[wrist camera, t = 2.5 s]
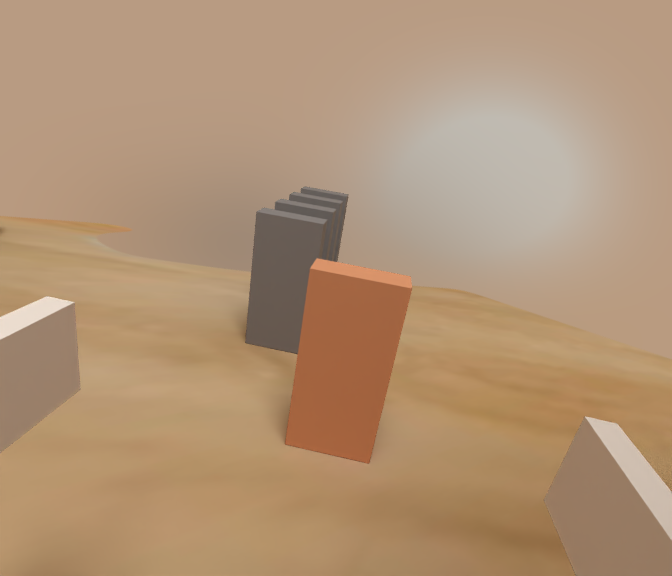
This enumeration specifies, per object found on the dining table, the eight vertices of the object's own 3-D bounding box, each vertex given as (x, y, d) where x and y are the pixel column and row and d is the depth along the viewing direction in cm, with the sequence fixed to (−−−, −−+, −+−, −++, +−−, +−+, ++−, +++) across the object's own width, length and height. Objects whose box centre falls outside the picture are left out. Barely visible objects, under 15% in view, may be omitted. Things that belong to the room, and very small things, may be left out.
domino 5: (370, 441, 25) (410, 276, 21) (368, 463, 23) (412, 288, 19) (292, 423, 25) (316, 258, 21) (285, 444, 23) (310, 268, 19)
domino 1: (318, 320, 39) (336, 209, 35) (315, 328, 37) (333, 212, 33) (269, 310, 40) (281, 198, 36) (263, 317, 38) (275, 201, 34)
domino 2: (308, 344, 34) (327, 219, 30) (304, 355, 33) (323, 224, 29) (252, 333, 35) (264, 207, 31) (245, 342, 33) (256, 211, 29)
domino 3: (326, 301, 44) (343, 200, 40) (324, 307, 42) (340, 203, 38) (282, 292, 44) (294, 191, 40) (277, 298, 42) (289, 194, 38)
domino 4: (333, 285, 48) (348, 194, 44) (331, 290, 47) (346, 196, 43) (293, 277, 49) (304, 186, 45) (289, 282, 47) (301, 188, 43)
